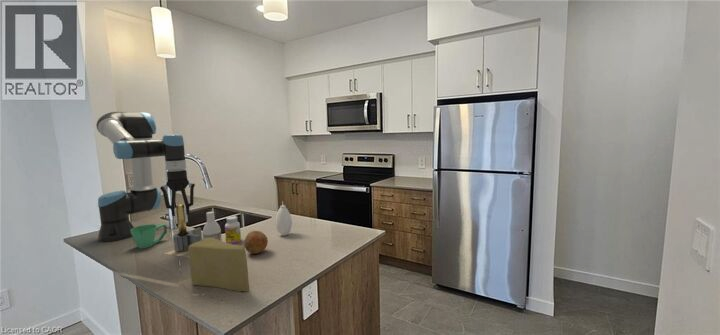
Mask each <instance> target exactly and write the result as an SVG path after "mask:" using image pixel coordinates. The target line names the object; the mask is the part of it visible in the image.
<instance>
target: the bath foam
mask: <svg viewBox="0 0 720 335" xmlns="http://www.w3.org/2000/svg"><path fill="white" fill-rule="evenodd" d="M205 214H206V222H205V224H204V226H203V229H202V240H204V239H207V238H210V237H212V238H215V239H217V240H220V241H222V242H223V239H222V238H223V237H222V229H221V226H220V224H219V223H218V222H217V221H216V219H215V212H214V211H208V212H206V213H205Z"/></svg>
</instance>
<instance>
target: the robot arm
mask: <svg viewBox="0 0 720 335" xmlns="http://www.w3.org/2000/svg"><path fill="white" fill-rule="evenodd" d="M96 129H97V131H98V133H100V135H101V136H103V137H106V138H107V139H108V140H109V141H110V142H111V143H112V149H113V155H114V156H115V158H116V159H118V160H131V171H132V183H133V186H131V187H130V192H127V191H126V190H118V191H117V190H116V191H112V192H107V193H105V194H102V195H101V196H99V197H98V199H97V207H98V212H99V219H100V228H99V232H98V236H97V238H98V239H97V240H98V241H99V242H104V243H105V242H114V241H120V240H123V239H127V238H130V237H133V236H132V234H131V231H130V230H131V229H132V228H134V226H133V224H132V222H131V219H130V215H134V214H138V213H139V214H140V213H144V212H150V211H153V210H157V209H158V208H160V206H161V203H162V195H163V200H164V203H165V204H164V205H165V208H166V209H168V210H169V209H170V210H171V216H172V217H174V219H175V224H176V225H178V218H177V209H176V196H177V192H181V195H182V199H183V201H184V202H183V203H184V214H185V223H186V224H187V223H188V222H189V221H188V220H189V218H188V215H190V212H191V211H190V207H192V206H194V198H195V196H194V194H195V192H194V190H195V186H196V183H195V182H190V181H189V180H188V172H187V170H186V169H187V162H186V154H185V153H186V152H185V151H186V150H185V141H184V136H183V135H182V134H164V135H163V136H162V138H161V139H160V138H159V139H153V135H155V134H156V133H157V125H156V121H155V118H154V117H153V116H152V114H150V113H149V112H142V111H110V112H108V113H105V114H103V115H101V116H100V117H98V120H97V121H96ZM155 157H164V161H165V170H166V180H167V181H166V184H164V185H161V186H160V189H159V188H157V185H155V184H154V182H153V170H152V168H153V167H152V158H155ZM187 186H188V187H189V189H190V190H189V200H188V196H187V193H186V188H187ZM168 188H169V189H170V190H171V203H170V201H169V200H170V198H169V195H168ZM161 192H162V193H161Z"/></svg>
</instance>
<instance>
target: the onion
mask: <svg viewBox="0 0 720 335" xmlns="http://www.w3.org/2000/svg"><path fill="white" fill-rule="evenodd" d="M268 242H269V239H268V237H267V235H266V234H265V233H263V232H262V231H260V230H252V231H249V232H248V234H247V235H246V236H245V239H244V242H243V243H244V244H243V247H244V248H245V251H247V252H248V253H249V254H252V255H253V254H254V255H256V254H260V253H263V252H264V251H265V250H266V248H267V246H268V244H269V243H268Z"/></svg>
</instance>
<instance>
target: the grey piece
mask: <svg viewBox="0 0 720 335" xmlns="http://www.w3.org/2000/svg"><path fill="white" fill-rule="evenodd" d="M172 236H173V246H174V248H175V252H186V251H189V250H188V247H189V245H191V244H193V243H196V242H199V241H201V240H203V232H202V228H201V227H197V228H194V229H191V230H189V231H188V230H187V233H186V234H183V235H179V232H176V233H174V234H173V235H172ZM174 248H173V249H174Z"/></svg>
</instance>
